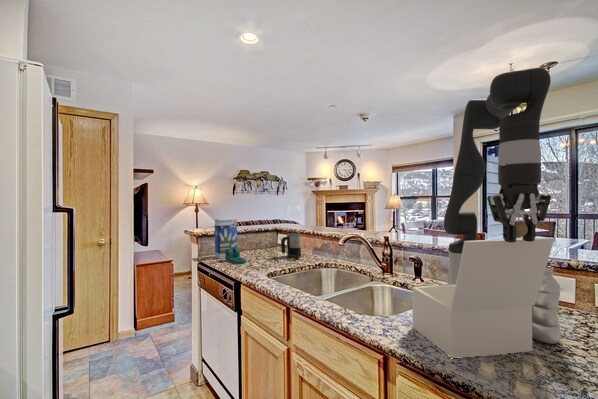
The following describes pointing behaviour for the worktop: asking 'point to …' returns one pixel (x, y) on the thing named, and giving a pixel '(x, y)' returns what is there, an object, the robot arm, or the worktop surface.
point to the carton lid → (501, 272)
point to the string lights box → (225, 236)
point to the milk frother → (292, 245)
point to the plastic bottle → (547, 310)
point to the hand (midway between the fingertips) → (519, 241)
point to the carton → (470, 325)
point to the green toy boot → (234, 256)
